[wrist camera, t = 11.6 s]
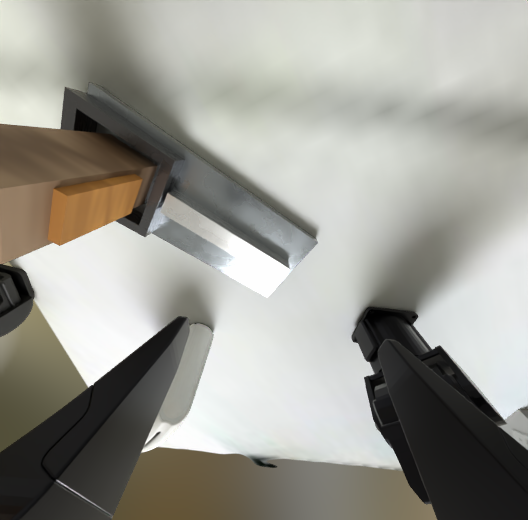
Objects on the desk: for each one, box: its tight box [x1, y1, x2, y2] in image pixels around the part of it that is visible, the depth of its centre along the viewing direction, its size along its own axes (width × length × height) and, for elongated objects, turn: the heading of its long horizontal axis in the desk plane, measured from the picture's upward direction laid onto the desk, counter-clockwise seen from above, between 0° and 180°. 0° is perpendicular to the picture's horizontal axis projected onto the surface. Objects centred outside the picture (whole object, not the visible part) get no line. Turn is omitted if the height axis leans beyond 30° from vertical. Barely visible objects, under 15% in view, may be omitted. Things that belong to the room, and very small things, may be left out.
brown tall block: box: [0, 124, 158, 264], centre depth 12 cm, size 5×4×11 cm
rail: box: [61, 82, 318, 297], centre depth 18 cm, size 22×9×3 cm, turn 56°
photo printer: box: [142, 323, 214, 452], centre depth 25 cm, size 10×4×12 cm, turn 140°
